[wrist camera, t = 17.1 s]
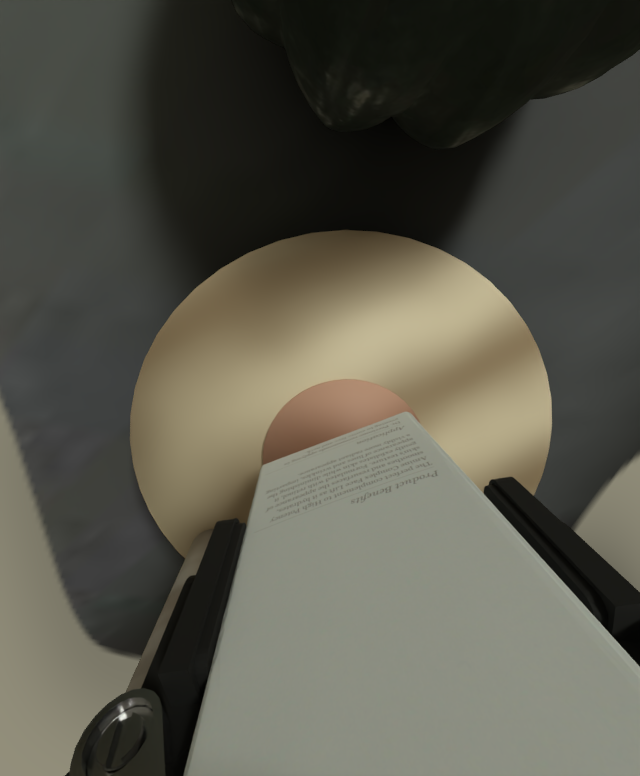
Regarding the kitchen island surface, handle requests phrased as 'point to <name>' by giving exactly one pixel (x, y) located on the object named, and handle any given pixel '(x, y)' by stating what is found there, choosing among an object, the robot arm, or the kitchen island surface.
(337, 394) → the turntable
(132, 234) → the kitchen island surface
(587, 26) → the squash
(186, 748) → the robot arm
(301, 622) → the skincare box
